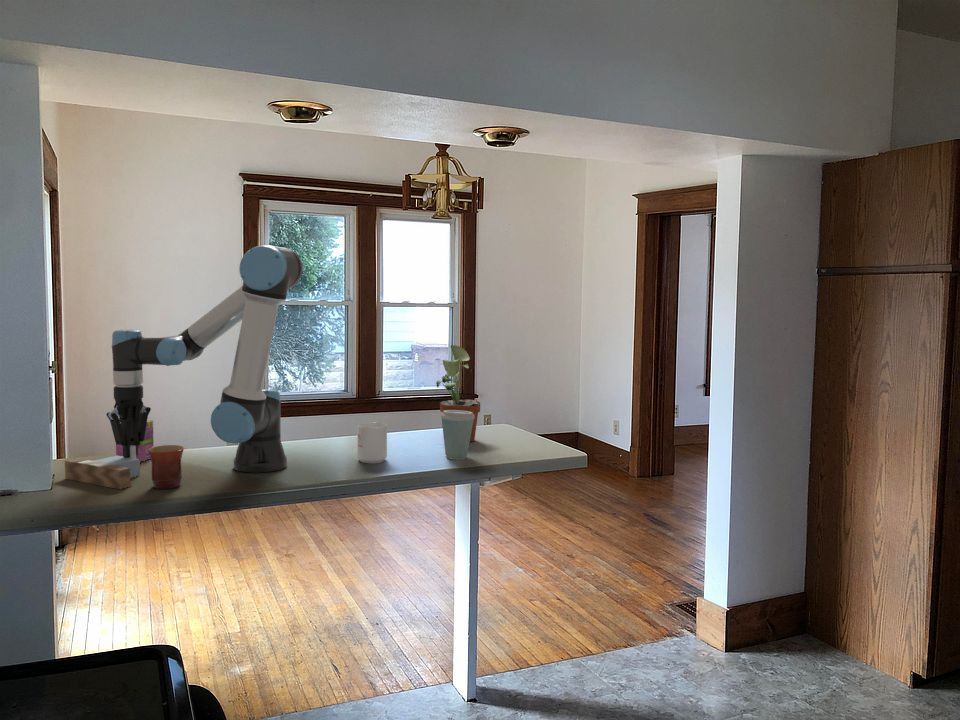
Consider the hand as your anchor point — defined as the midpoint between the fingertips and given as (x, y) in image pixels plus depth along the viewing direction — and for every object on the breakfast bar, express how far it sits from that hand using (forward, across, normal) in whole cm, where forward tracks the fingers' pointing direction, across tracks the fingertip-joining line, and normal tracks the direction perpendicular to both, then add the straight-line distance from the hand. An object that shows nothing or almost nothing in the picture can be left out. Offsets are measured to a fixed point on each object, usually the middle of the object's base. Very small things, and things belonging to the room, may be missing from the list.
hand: (130, 468), depth 219 cm
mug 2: (+2, -48, +48) cm, 68 cm away
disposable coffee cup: (+2, -64, +70) cm, 95 cm away
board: (+1, +11, +1) cm, 12 cm away
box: (+2, -11, -11) cm, 15 cm away
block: (+2, +5, 0) cm, 5 cm away
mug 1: (+2, +4, +19) cm, 20 cm away
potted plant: (+2, -87, +58) cm, 104 cm away
